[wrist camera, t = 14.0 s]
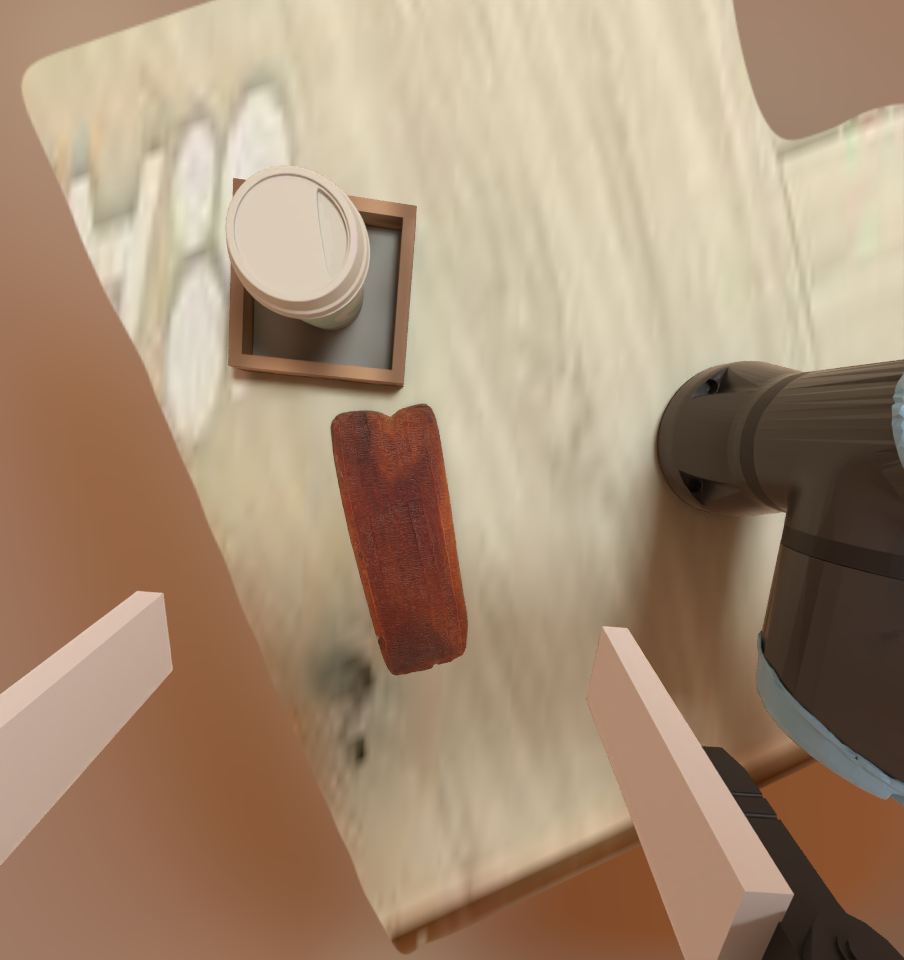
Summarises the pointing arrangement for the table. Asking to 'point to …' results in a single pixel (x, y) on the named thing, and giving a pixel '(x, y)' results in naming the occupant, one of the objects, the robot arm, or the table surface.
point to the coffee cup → (299, 246)
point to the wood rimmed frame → (350, 350)
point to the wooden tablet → (402, 533)
